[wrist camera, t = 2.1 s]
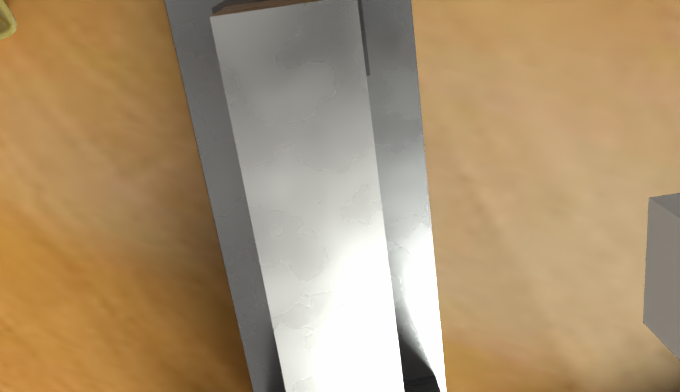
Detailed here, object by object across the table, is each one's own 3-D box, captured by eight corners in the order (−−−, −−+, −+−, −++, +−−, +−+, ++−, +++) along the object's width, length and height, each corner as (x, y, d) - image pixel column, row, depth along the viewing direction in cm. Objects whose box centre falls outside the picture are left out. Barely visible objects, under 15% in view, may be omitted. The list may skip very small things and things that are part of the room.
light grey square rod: (221, 6, 21) (203, 18, 17) (349, -13, 21) (362, -6, 17) (330, 565, 30) (336, 658, 26) (419, 551, 30) (438, 642, 26)
